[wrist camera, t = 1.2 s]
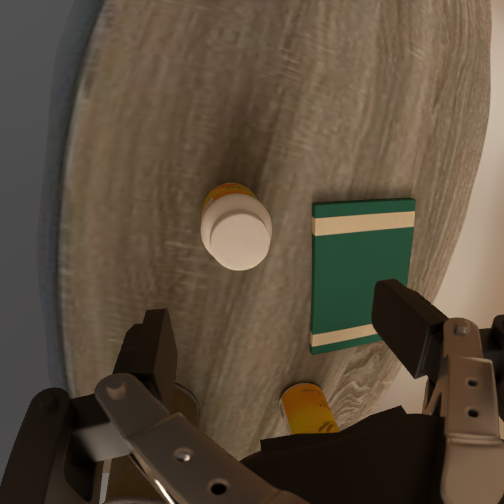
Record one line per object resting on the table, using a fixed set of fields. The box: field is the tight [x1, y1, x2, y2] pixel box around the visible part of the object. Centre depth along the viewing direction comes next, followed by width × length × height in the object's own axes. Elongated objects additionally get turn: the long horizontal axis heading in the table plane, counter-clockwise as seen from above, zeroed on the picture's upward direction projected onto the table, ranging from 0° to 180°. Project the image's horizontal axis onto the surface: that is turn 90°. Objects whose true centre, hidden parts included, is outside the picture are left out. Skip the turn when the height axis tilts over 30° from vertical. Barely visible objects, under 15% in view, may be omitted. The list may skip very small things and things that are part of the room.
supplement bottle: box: [201, 183, 272, 270], centre depth 25 cm, size 5×5×10 cm
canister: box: [103, 384, 199, 504], centre depth 28 cm, size 11×10×20 cm
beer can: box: [279, 383, 340, 435], centre depth 33 cm, size 6×6×15 cm
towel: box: [310, 198, 416, 355], centre depth 34 cm, size 18×12×1 cm, turn 4°
